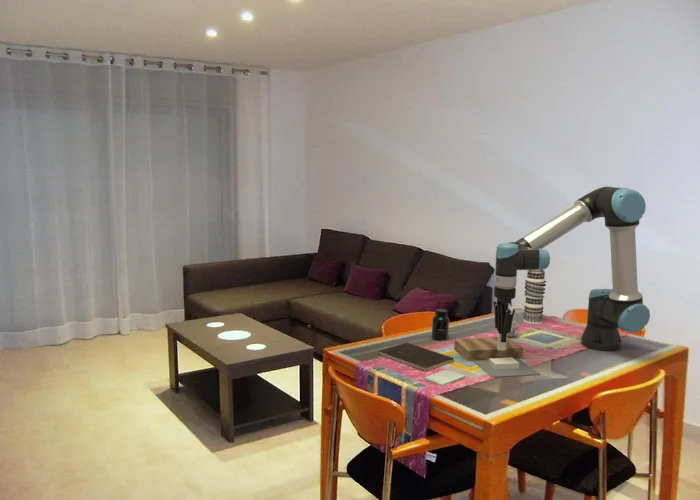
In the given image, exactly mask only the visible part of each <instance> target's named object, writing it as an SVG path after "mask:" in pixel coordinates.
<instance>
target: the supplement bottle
mask: <svg viewBox="0 0 700 500" xmlns="http://www.w3.org/2000/svg"><path fill="white" fill-rule="evenodd" d="M434 314H435V315H434V316H433V317H432V320H431V321H432V322H431V323H432V324H431V338H432V340H435V341H447V340H448V339H449V328H450V318H449V317H448V310H447V309H445V308H437V309H435V313H434Z"/></svg>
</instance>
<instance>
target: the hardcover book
mask: <svg viewBox="0 0 700 500" xmlns="http://www.w3.org/2000/svg"><path fill="white" fill-rule="evenodd" d="M379 352H380V356H382V357H385V358H388V359H390V360H392V361H396V362H398V363H401V364H404V365H405V366H406V365H407V366H409V367H412V366H413V367H412V368H414V367H416V368H415V369H417V368H418V370H420V369H421V370H420V371H423V370H424V371H423V372H428V371H431V370H434V369H436V367H437V368H439V367H442V366H446V365H448V364H452V363H454V361H455V360H454V359H455V358H454V357H453V356H449V355H446V354H443V353H440V352H436V351H433V350H431V349H427V348H425V347H422V346H418V345H416V344H413V343H410V342H403V343H402V344H397V345H394V346H391V347H387V348H384V349H380V350H379ZM433 368H434V369H433ZM430 369H431V370H430ZM427 370H428V371H427Z"/></svg>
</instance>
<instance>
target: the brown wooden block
mask: <svg viewBox="0 0 700 500" xmlns="http://www.w3.org/2000/svg"><path fill="white" fill-rule="evenodd" d="M497 343H498V336H495V337H493V336H492V337H474V338H454V344H453V347H454V350H455V351H456V352H457V353H458V354H459V355H460V356H461V357H463V359H465V360H466V361H467V362H474V361H483V360H489V359H491V358H511V357H512V358H513V359H523V358H524V347H523V346H522V345H520V344H518V343H517V342H515V341H514V340H513V339H511V337H507V339H506V350H500V351H499V350H497Z"/></svg>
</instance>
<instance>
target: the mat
mask: <svg viewBox="0 0 700 500" xmlns="http://www.w3.org/2000/svg"><path fill="white" fill-rule="evenodd" d="M515 360H516V361H517V362H519V368H518V369H499V370H495V369H494V368H493V367H492V366H491V365H489V360H480V361H473V362H474V363H475V365H477V366H478V368H480V367H481V368H482V369H481V368H480V369H481V370H483V372H484V373H486V372H487V373H488V374H489V375H490V376H491V378H492V377H493V378H508V377H509V378H510V377H521V376H522V377H526V376H541V373H539V372H538V370H536V369H534V368H532V366H530V365H528V364H527V363H526V362H525V361H523V360H522V359H521V358H517V359H515ZM487 373H486V374H487ZM488 374H487V375H488ZM489 375H488V376H489ZM490 376H489V377H490Z"/></svg>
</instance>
